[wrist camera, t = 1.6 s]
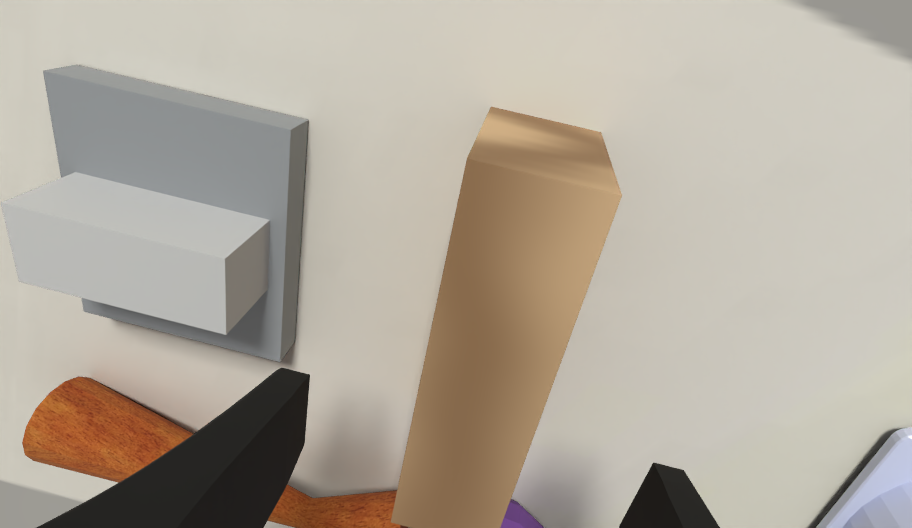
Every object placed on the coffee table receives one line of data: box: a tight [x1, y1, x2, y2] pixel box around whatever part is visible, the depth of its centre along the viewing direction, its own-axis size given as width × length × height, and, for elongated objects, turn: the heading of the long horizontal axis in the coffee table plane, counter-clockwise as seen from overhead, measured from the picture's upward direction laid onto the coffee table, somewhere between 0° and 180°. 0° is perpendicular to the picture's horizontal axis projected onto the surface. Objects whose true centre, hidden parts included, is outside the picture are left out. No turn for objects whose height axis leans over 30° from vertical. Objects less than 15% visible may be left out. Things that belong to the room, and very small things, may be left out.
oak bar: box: [391, 107, 622, 528], centre depth 15 cm, size 3×11×5 cm, turn 169°
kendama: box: [22, 377, 544, 528], centre depth 20 cm, size 6×6×20 cm
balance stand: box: [1, 65, 308, 362], centre depth 16 cm, size 7×8×4 cm
